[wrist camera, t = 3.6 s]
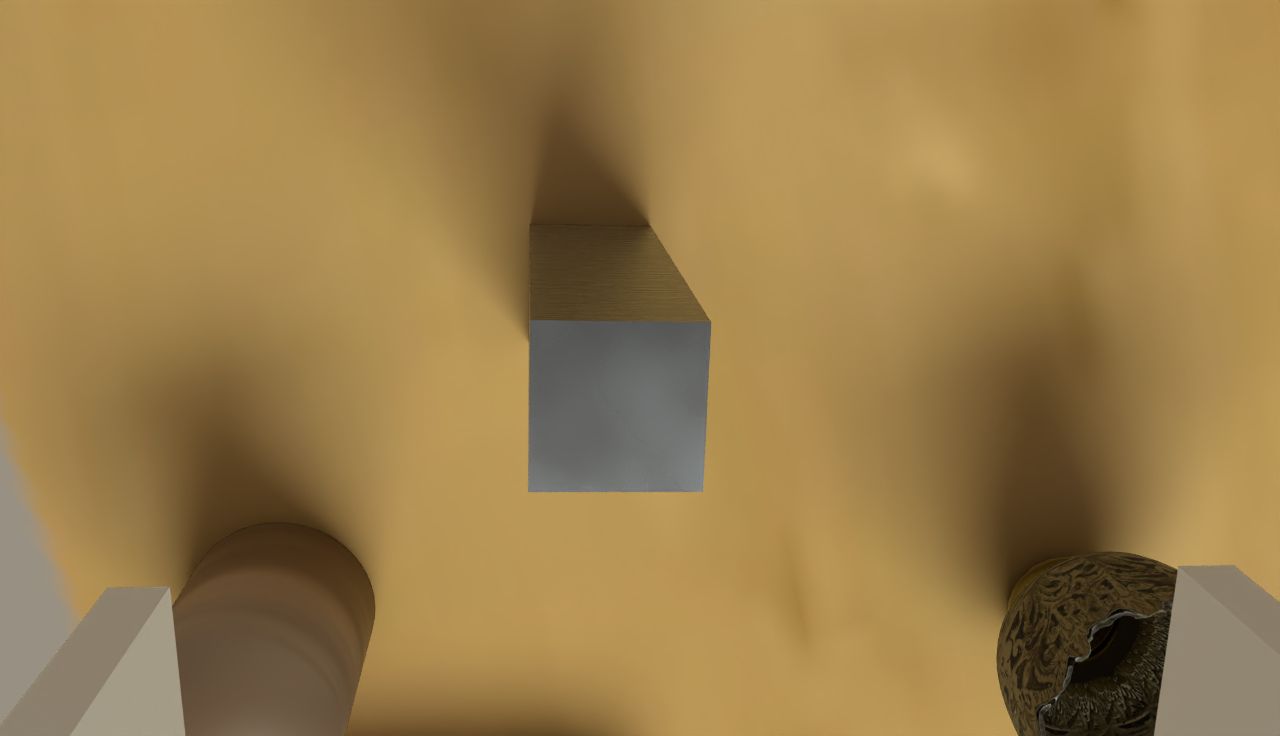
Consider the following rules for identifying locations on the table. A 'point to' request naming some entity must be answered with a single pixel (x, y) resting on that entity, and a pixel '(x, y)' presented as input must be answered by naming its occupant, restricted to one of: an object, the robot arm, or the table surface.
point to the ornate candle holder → (1086, 645)
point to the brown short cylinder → (272, 634)
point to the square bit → (614, 364)
